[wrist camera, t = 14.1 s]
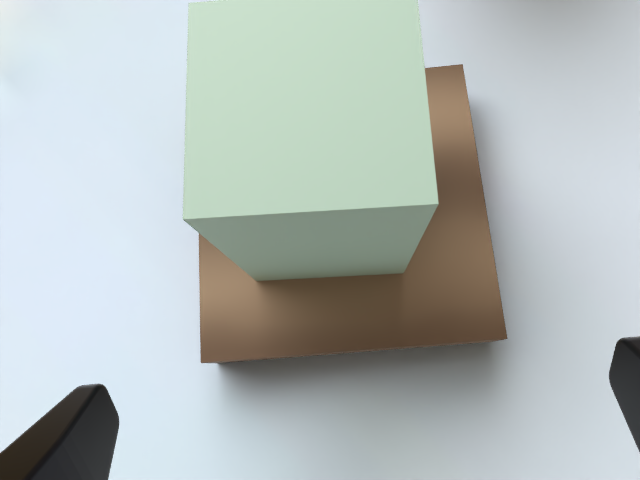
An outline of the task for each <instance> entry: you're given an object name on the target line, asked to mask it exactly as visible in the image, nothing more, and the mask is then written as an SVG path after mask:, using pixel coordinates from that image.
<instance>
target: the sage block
mask: <svg viewBox="0 0 640 480" xmlns="http://www.w3.org/2000/svg"><path fill="white" fill-rule="evenodd" d="M438 204H439V203H438V193H437V183H436V173H435V164H434V154H433V144H432V135H431V125H430V115H429V106H428V96H427V86H426V77H425V67H424V57H423V47H422V38H421V28H420V18H419V9H418V0H219V1H207V2H195V3H189V8H188V45H187V83H186V120H185V157H184V194H183V220H184V221H185V222H187V223H188V224H189V225H190V226H191V227H193V228H194V229H195V230H196V231H197V232H198V233H200V234H201V235H202V236H203V237H204V238H206V239H207V240H208V241H209V242H210V243H212V244H213V245H214V246H215V247H216V248H217V249H219V250H220V251H221V252H222V253H223V254H225V255H226V256H227V257H228V258H229V259H231V260H232V261H233V262H234V263H235V264H236V265H238V266H239V267H240V268H241V269H242V270H244V271H245V272H246V273H247V274H248V275H250V276H251V277H252V278H253V279H254V280H255V281H267V280H286V279H305V278H324V277H343V276H362V275H381V274H400V273H404V271H405V270H406V268H407V266H408V264H409V262H410V260H411V258H412V256H413V254H414V252H415V250H416V248H417V246H418V244H419V242H420V240H421V238H422V236H423V234H424V232H425V230H426V228H427V226H428V224H429V222H430V220H431V218H432V216H433V214H434V212H435V210H436V208H437V206H438Z"/></svg>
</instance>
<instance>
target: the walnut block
mask: <svg viewBox="0 0 640 480" xmlns="http://www.w3.org/2000/svg"><path fill="white" fill-rule="evenodd" d="M425 77H426V86H427V96H428V106H429V115H430V125H431V135H432V144H433V154H434V164H435V173H436V183H437V193H438V203H439V204H438V206H437V208H436V210H435V212H434V214H433V216H432V218H431V220H430V222H429V224H428V226H427V228H426V230H425V232H424V234H423V236H422V238H421V240H420V242H419V244H418V246H417V248H416V250H415V252H414V254H413V256H412V258H411V260H410V262H409V264H408V266H407V268H406V270H405V271H404V273H400V274H381V275H362V276H343V277H324V278H305V279H286V280H267V281H255V280H254V279H253V278H252V277H251V276H250V275H248V274H247V273H246V272H245V271H244V270H242V269H241V268H240V267H239V266H238V265H236V264H235V263H234V262H233V261H232V260H231V259H229V258H228V257H227V256H226V255H225V254H223V253H222V252H221V251H220V250H219V249H217V248H216V247H215V246H214V245H213V244H212V243H210V242H209V241H208V240H207V239H206V238H204V237H203V236H202V235H201V234H200V233H199V277H200V342H201V363H226V362H239V361H251V360H264V359H277V358H290V357H303V356H315V355H328V354H341V353H354V352H367V351H379V350H392V349H405V348H418V347H430V346H443V345H456V344H469V343H482V342H492V341H498V340H504V339H507V334H506V328H505V322H504V316H503V309H502V303H501V297H500V291H499V285H498V279H497V273H496V267H495V260H494V254H493V248H492V242H491V236H490V230H489V224H488V218H487V211H486V205H485V199H484V193H483V187H482V181H481V175H480V169H479V162H478V156H477V150H476V144H475V138H474V132H473V126H472V120H471V113H470V107H469V101H468V95H467V89H466V83H465V77H464V71H463V65H462V64H461V65H451V66H442V67H432V68H425Z"/></svg>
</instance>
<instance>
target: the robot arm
mask: <svg viewBox="0 0 640 480" xmlns="http://www.w3.org/2000/svg"><path fill="white" fill-rule="evenodd" d="M609 380H610V385H611V387H612V390H613V392H614V394H615V397H616V399H617V401H618V404H619V406H620V408H621V411H622V413H623V415H624V417H625V420H626V422H627V424H628V427H629V429H630V431H631V434H632V436H633V438H634V440H635V443H636V445H637V447H638V450H639V452H640V336H639V337H628V338H622V339H620V340H619V341H618V342H617V344H616V347H615V351H614V355H613V359H612V363H611V367H610V371H609ZM118 429H119V416H118V413H117V411H116V408H115V406H114V404H113V402H112V400H111V397H110V395H109V393H108V391H107V389H106V387H105V386H104V385H102V384H90V385H82V386H79V387H77V388H76V389H74V390H73V391H72V392H71V393H70V394H69V395H67V396H66V397H65V398H64V399H63V400H62V401H60V402H59V403H58V404H57V405H56V406H55V407H53V408H52V409H51V410H50V411H49V412H48V413H46V414H45V415H44V416H43V417H42V418H41V419H39V420H38V421H37V422H36V423H35V424H34V425H32V426H31V427H30V428H29V429H28V430H27V431H25V432H24V433H23V434H22V435H21V436H20V437H18V438H17V439H16V440H15V441H14V442H13V443H11V444H10V445H9V446H8V447H7V448H6V449H4V450H3V451H2V452H1V453H0V480H108V477H109V473H110V468H111V463H112V458H113V453H114V448H115V444H116V439H117V434H118Z"/></svg>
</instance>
